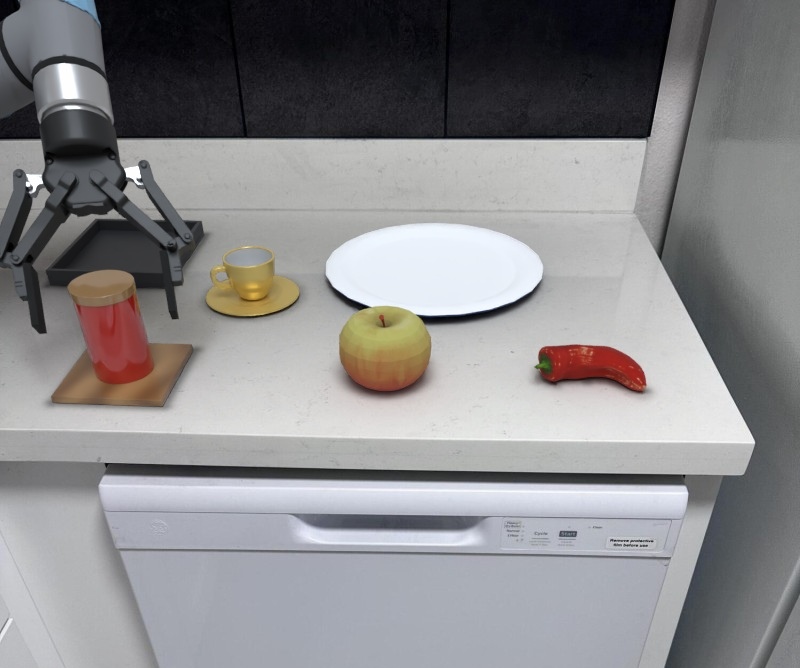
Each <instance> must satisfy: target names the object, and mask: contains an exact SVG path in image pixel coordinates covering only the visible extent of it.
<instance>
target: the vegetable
mask: <svg viewBox="0 0 800 668" xmlns="http://www.w3.org/2000/svg"><path fill="white" fill-rule="evenodd" d="M537 361H538V364H536V365H535V366H534V367H533V368H534V369H535V370H539V372H540V374H541V376H542V377H543V378H544V379H546V380H547V381H549V382H558V381H563V380H580V379H581V380H582V379H587V378H606V379H611V380H614V381H616V382H618V383H619V384H622V385H623V386H624V387H625V388H628V389H630V390H633V391H638V392H642V391H644V390H645V389H647V378H646V374H645V371H644V370H643V368H642V366H641V365H640V364H639V363H638V362H637V361H636V360H635V359H634V358H633V357H631V356H630V355H628V354H627V353H625V352H623V351H621V350H619V349H616V348H614V347H613V346H608V345H594V344H593V345H591V344H589V345H588V344H563V345H561V344H560V345H545V346H543V347H541V348H539V351H538V354H537Z"/></svg>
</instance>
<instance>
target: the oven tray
mask: <svg viewBox="0 0 800 668" xmlns="http://www.w3.org/2000/svg"><path fill="white" fill-rule="evenodd" d="M152 220H153V221H154V222H155V223H156V224H157V225H159V226H160V227H161V228H162V229H163V230H164V231H165V232H167V233H168V234H169V235H170V236H171V237H172V238H173V239H174V237H175V238H177V237H176V235H175V234H174V232H173V231H172V230H171V228H170V227H169V225H168V224H167V223H166V221H165V220H164V219H152ZM182 220H183V221H184V222H185V224H186V225H187V227H188V228H189V230H190V231H191V232H192V234H193V237H194V241H195V246H196V247H195V249H196V248H197V246H198V245H199V243H200V242H201V240H202V239H203V237H204V236H205V232H204V226H203V221H202V220H191V219H189V220H187V219H182ZM195 249H194V250H193V251H187V252H185V253H183V254H182V255H181V258H180V259H181V266H182V268H183V267H184V266H185V264H186V262H187V261H188V259H189V258H190V256H191V255H192V254H193V252H194V251H195ZM159 251H162V250H161V249H160V248H159V247H158V246H157V245H156V244H155V243H153V242H152V241H151V240H150V239H149V238H148V237H147V236H145V235H144V234H143V233H142V232H141V231H140V230H139V229H137V228H136V227H135V226H134V225H133V224H132V223H131V222H129V221H128V220H127V219H126V218H95V219H93V220H92V222H91V223H90V224H89V225H88V226H87V227H85V229H84V230H83V231H82V232H81V233H80V234H79V235H78V236H77V237H76V238H75V239H74V240H73V241H72V242H71V243H70V244H69V245H68V246H67V247H66V248H65V249H64V251H62V252H61V253H60V255H58V256H57V257H56V259H55V260H54V261H53V262H52V263H51V264H50V265H49V266H48V267H46V269H45V270H44V271H45V274H46V276H47V280H48V283H49V286H61V287H63V286H65V287H68V285H69V283H70V282H71V281H72V280H74V279H75V278H77V277H79V276H81V275H84V274H87V273H90V272H94V271H100V270H120V271H124V272H127V273H129V274H131V275H132V276H133V277H134V280H135V284H136V288H139V289H140V288H142V289H143V288H145V289H165V285H164V279H163V272H162V266H161V259H160V253H159Z"/></svg>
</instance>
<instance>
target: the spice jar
mask: <svg viewBox="0 0 800 668" xmlns="http://www.w3.org/2000/svg"><path fill="white" fill-rule="evenodd" d="M67 291H68V295H69V298H70V300H71V301H72V305H73V307H74V311H75V314H76V317H77V321H78V324H79V328H80V330H81V334H82V337H83V340H84V344H85V346H86V349H87V350H88V353H89V356H90V359H91V363H92V366H93V369H94V372H95V375H96V377H97V378H98V379H99V380H100V381H102V382H105V383H110V384H125V383H130V382H134V381H137V380H140V379H142V378H144V377H146V376H147V375H148V374H150V373H151V372H152V370H153V368H154V361H153V357H152V353H151V349H150V345H149V343H150V340H149V337H148V333H147V329H146V325H145V321H144V317H143V313H142V309H141V305H140V301H139V296H138V293H137V287H136V284H135V280H134V277H133V276H132V275H131V274H129V273H127V272H124V271H120V270H100V271H94V272H90V273H87V274H84V275H81V276H79V277H77V278H75V279H74V280H72V281H71V282H70V283H69V285H68V286H67Z"/></svg>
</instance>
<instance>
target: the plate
mask: <svg viewBox="0 0 800 668" xmlns="http://www.w3.org/2000/svg"><path fill="white" fill-rule="evenodd" d="M543 272H544V265H543V262H542V259H541V258H540V256H539V254H538V253H536V252H535V251H534V250H533V249H532V248H531V247H529V246H528V245H527V244H526V243H524V242H522V241H520V240H518V239H516V238H514V237H512V236H510V235H508V234H505V233H502V232H499V231H495V230H492V229H488V228H485V227H480V226H475V225H467V224H461V223H448V222H447V223H446V222H445V223H444V222H425V223H424V222H423V223H421V222H420V223H407V224H400V225H393V226H386V227H382V228H380V229H375V230H372V231H368V232H365V233H362V234H360V235H358V236H356V237H353V238H351V239H349V240H347V241H345V242H343V243H342V244H341V245H340V246H339V247H337V248H336V249H335V250H333V251H332V252H331V254H330V255H329V257H328V259H327V260H326V261H325V277H326V279H327V280H328V282H329V284H330V285H331V287H332V288H333V289H334V290H335V291H337V292H338V293H339V294H341V295H342V296H343V297H345V298H346V299H348V300H350V301H352V302H355V303H357V304H360V305H362V306H364V307H366V308H371V307H375V306H393V307H400V308H403V309H406V310H409V311H411V312H412V313H414V314H415V315H417V316H418V317H420V318H421V317H423V318H443V317H463V316H469V315H475V314H481V313H486V312H491V311H493V310H496V309H499V308H502V307H506V306H508V305H513V304H514V303H517V302H518V301H519V300H521V299H522V298H524V297H527V296H528V295H530V294H531V293H532V292H533V291H534V290H535V289H536V288H537V286H538V285H539V284H540V283H541V281H542V279H543Z"/></svg>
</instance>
